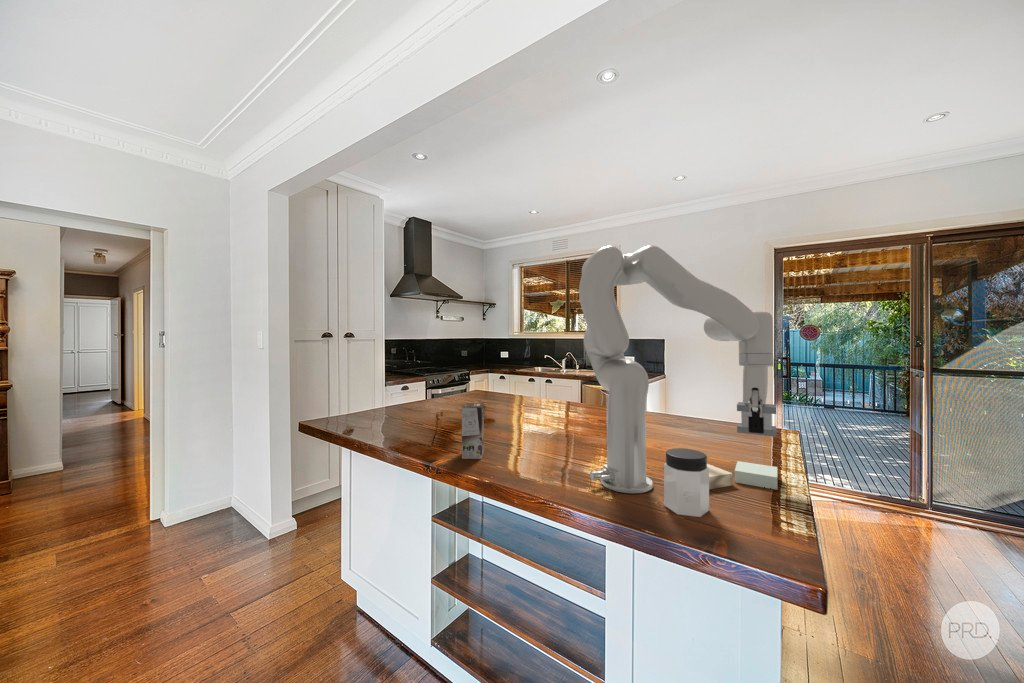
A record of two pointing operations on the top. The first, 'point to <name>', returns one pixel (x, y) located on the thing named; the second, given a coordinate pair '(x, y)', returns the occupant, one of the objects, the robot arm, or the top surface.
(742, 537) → the top surface
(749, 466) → the stand
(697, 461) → the jar
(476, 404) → the coffee box
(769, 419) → the housing
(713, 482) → the stand
